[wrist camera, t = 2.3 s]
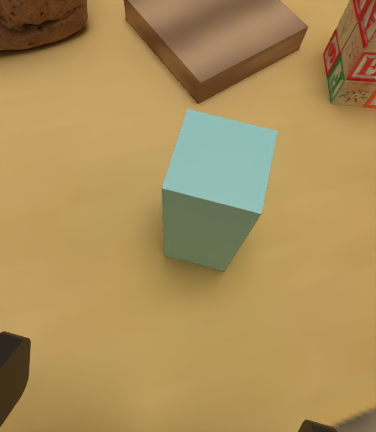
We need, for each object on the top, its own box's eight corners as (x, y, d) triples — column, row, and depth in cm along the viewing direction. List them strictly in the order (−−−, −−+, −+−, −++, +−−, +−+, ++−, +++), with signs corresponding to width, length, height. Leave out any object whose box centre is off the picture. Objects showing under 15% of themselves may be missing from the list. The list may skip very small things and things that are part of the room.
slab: (126, 24, 35) (123, -6, 32) (222, -19, 38) (227, -49, 35) (197, 107, 32) (200, 82, 29) (297, 53, 35) (308, 26, 32)
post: (164, 255, 26) (161, 188, 16) (180, 201, 28) (187, 108, 17) (224, 271, 26) (261, 213, 15) (236, 216, 27) (277, 130, 17)
